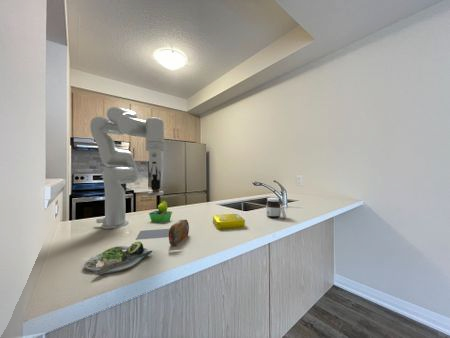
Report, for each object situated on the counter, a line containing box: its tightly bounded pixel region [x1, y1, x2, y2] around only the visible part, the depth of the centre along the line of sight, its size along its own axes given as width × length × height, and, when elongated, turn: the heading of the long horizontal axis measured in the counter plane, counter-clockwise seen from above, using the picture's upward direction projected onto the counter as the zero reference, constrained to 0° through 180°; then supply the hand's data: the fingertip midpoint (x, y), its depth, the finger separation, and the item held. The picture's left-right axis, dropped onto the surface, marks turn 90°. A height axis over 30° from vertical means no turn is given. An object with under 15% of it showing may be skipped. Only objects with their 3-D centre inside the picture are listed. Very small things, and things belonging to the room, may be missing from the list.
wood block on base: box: [147, 189, 164, 197], centre depth 86 cm, size 6×5×9 cm
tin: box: [168, 219, 190, 247], centre depth 83 cm, size 15×3×8 cm, turn 168°
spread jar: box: [265, 197, 287, 219], centre depth 123 cm, size 12×11×12 cm
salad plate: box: [83, 241, 153, 276], centre depth 65 cm, size 19×18×5 cm
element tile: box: [212, 213, 246, 231], centre depth 107 cm, size 15×15×5 cm
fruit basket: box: [148, 200, 173, 223], centre depth 114 cm, size 11×9×11 cm
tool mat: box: [135, 228, 170, 241], centre depth 91 cm, size 16×12×1 cm
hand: (155, 188), depth 86 cm, fingers closed on wood block on base, 2 cm apart
